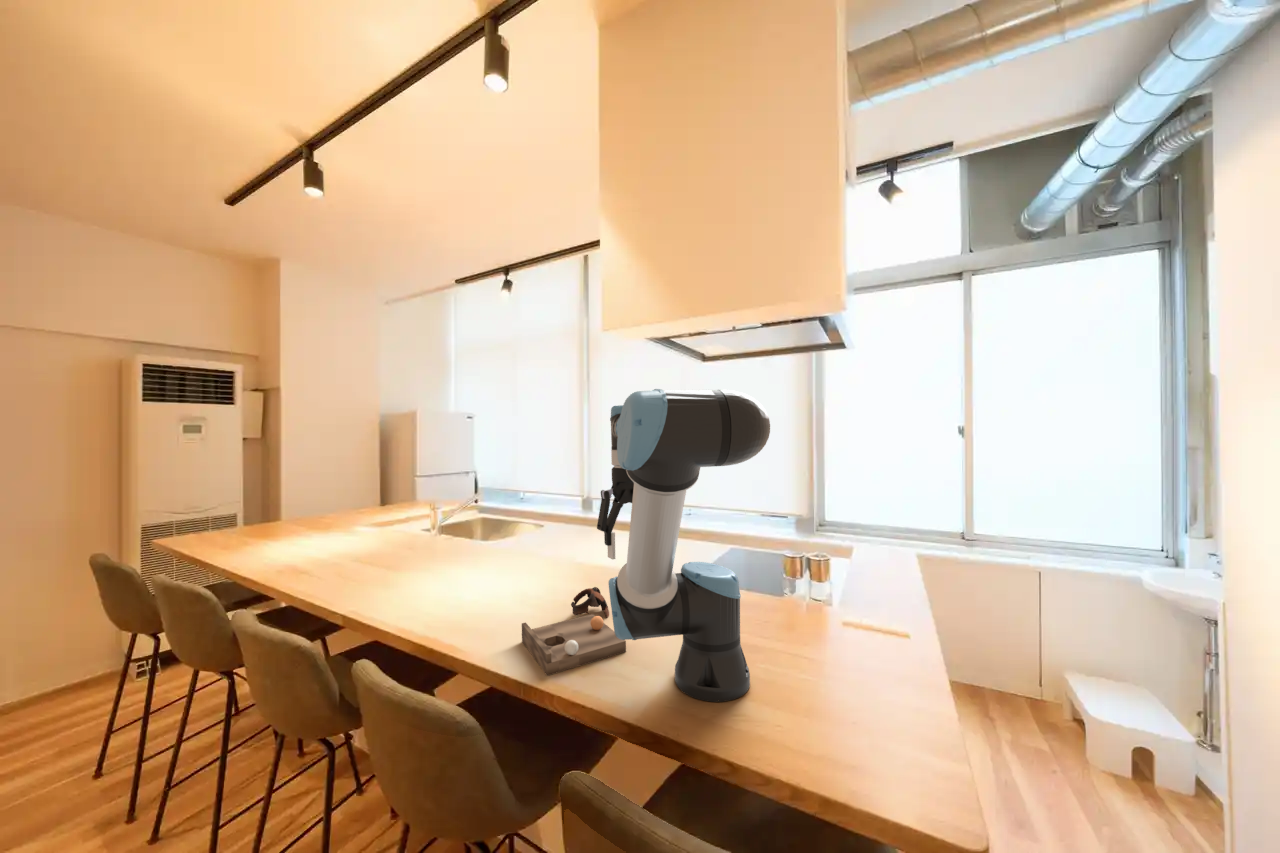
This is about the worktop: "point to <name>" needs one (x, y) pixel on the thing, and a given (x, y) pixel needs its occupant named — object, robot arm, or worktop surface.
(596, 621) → the ball
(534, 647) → the deck
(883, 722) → the worktop surface
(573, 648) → the cream ball
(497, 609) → the worktop surface
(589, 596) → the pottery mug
